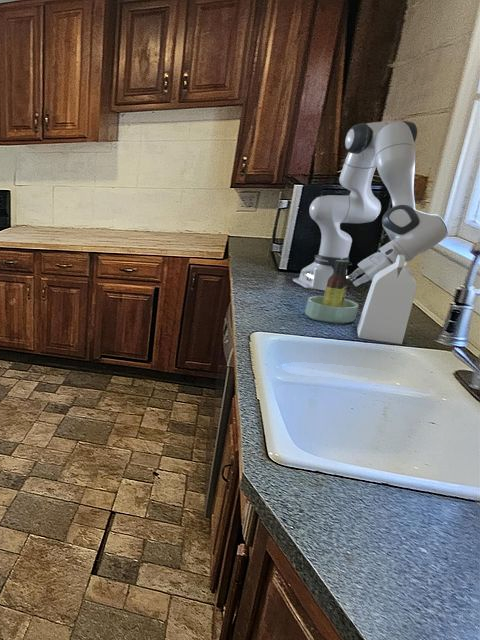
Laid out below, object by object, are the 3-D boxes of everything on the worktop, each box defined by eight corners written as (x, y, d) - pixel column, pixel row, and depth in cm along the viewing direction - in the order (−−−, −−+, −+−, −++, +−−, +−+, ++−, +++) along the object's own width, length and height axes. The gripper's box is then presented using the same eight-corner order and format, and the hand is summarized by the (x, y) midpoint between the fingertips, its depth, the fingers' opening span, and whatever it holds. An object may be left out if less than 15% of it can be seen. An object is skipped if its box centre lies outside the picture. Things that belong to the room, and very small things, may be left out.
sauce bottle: (342, 319, 186) (357, 263, 179) (323, 317, 187) (336, 262, 180) (335, 313, 192) (349, 259, 185) (316, 312, 193) (329, 258, 186)
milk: (356, 327, 179) (377, 251, 170) (398, 333, 174) (421, 254, 164) (358, 337, 170) (380, 257, 160) (401, 344, 164) (427, 261, 155)
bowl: (295, 312, 197) (298, 296, 194) (334, 311, 198) (338, 295, 196) (322, 325, 182) (326, 308, 180) (364, 324, 184) (369, 307, 181)
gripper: (379, 244, 185) (340, 269, 192) (393, 253, 168) (350, 280, 175) (391, 257, 185) (352, 282, 192) (406, 268, 168) (362, 295, 175)
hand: (351, 281), depth 184 cm, fingers open, 8 cm apart
